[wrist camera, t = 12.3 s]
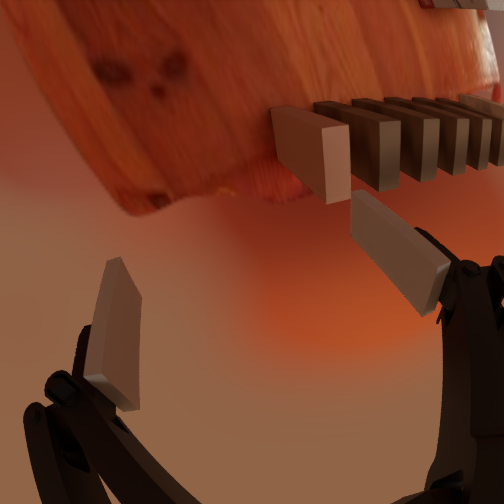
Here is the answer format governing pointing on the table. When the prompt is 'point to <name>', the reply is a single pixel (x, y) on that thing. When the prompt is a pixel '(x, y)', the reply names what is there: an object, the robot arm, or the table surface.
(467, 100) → the bookend block
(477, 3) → the ink box
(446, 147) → the domino
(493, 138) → the domino
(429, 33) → the table surface
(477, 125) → the domino
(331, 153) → the domino
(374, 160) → the domino
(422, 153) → the domino
